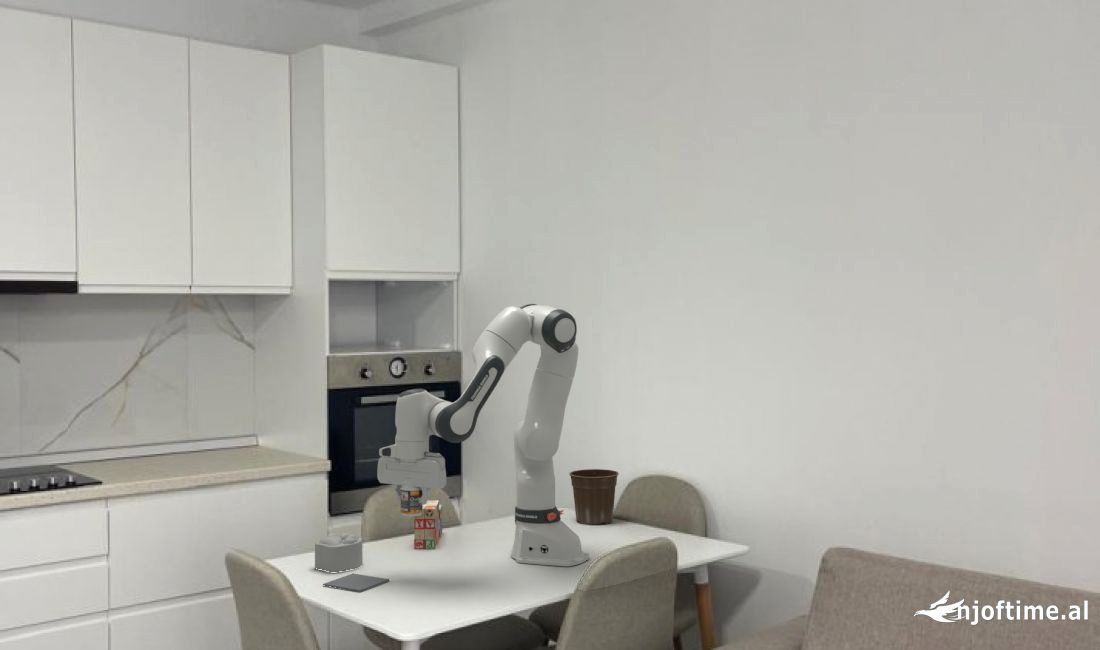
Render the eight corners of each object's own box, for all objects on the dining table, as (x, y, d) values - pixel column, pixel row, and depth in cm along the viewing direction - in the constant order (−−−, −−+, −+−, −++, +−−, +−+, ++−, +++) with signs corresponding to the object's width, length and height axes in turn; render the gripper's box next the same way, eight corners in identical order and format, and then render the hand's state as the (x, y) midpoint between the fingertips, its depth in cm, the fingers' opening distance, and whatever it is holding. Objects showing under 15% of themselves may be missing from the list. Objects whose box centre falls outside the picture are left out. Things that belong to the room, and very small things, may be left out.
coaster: (389, 581, 281) (389, 579, 281) (360, 592, 270) (360, 590, 270) (352, 575, 286) (352, 573, 286) (322, 586, 276) (322, 583, 276)
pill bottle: (413, 518, 281) (413, 480, 281) (396, 515, 284) (396, 477, 284) (426, 514, 286) (427, 477, 286) (410, 511, 289) (410, 475, 289)
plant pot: (565, 525, 349) (565, 476, 349) (572, 515, 365) (573, 468, 365) (615, 527, 347) (615, 477, 346) (620, 517, 363) (620, 469, 362)
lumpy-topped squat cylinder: (309, 568, 294) (309, 537, 294) (346, 559, 304) (346, 529, 304) (334, 574, 288) (334, 542, 287) (371, 565, 298) (371, 534, 297)
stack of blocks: (422, 533, 338) (422, 494, 338) (442, 533, 338) (442, 494, 338) (414, 549, 316) (413, 507, 316) (435, 549, 316) (435, 507, 316)
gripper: (451, 452, 283) (451, 504, 283) (388, 446, 292) (388, 497, 293) (437, 455, 277) (437, 508, 278) (374, 449, 287) (373, 500, 287)
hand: (411, 502), depth 285 cm, fingers closed on pill bottle, 6 cm apart
